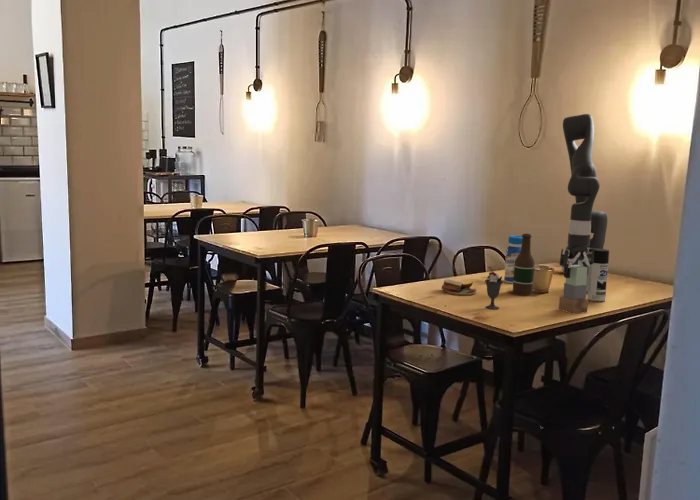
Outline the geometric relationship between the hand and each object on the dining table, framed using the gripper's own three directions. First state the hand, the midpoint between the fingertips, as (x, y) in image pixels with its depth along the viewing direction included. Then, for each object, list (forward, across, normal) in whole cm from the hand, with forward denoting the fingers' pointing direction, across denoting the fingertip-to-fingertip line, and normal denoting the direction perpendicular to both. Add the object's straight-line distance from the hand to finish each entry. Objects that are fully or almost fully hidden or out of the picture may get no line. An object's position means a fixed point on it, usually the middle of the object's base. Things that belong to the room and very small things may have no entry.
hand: (575, 277), depth 244 cm
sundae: (+13, +26, -14) cm, 32 cm away
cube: (+8, 0, 0) cm, 8 cm away
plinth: (+13, 0, 0) cm, 13 cm away
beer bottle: (+13, -2, -29) cm, 32 cm away
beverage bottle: (+13, -13, -47) cm, 51 cm away
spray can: (+13, -22, -9) cm, 27 cm away
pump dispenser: (+13, -53, -53) cm, 76 cm away
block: (+3, 0, 0) cm, 3 cm away
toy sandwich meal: (+13, +22, -39) cm, 47 cm away
